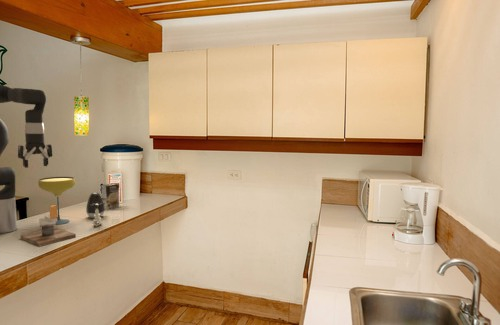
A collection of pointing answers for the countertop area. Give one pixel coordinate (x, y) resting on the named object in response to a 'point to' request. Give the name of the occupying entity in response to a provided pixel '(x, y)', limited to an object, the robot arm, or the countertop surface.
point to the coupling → (49, 217)
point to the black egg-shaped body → (92, 199)
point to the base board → (47, 236)
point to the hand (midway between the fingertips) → (36, 166)
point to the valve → (97, 215)
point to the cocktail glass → (57, 189)
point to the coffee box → (110, 196)
